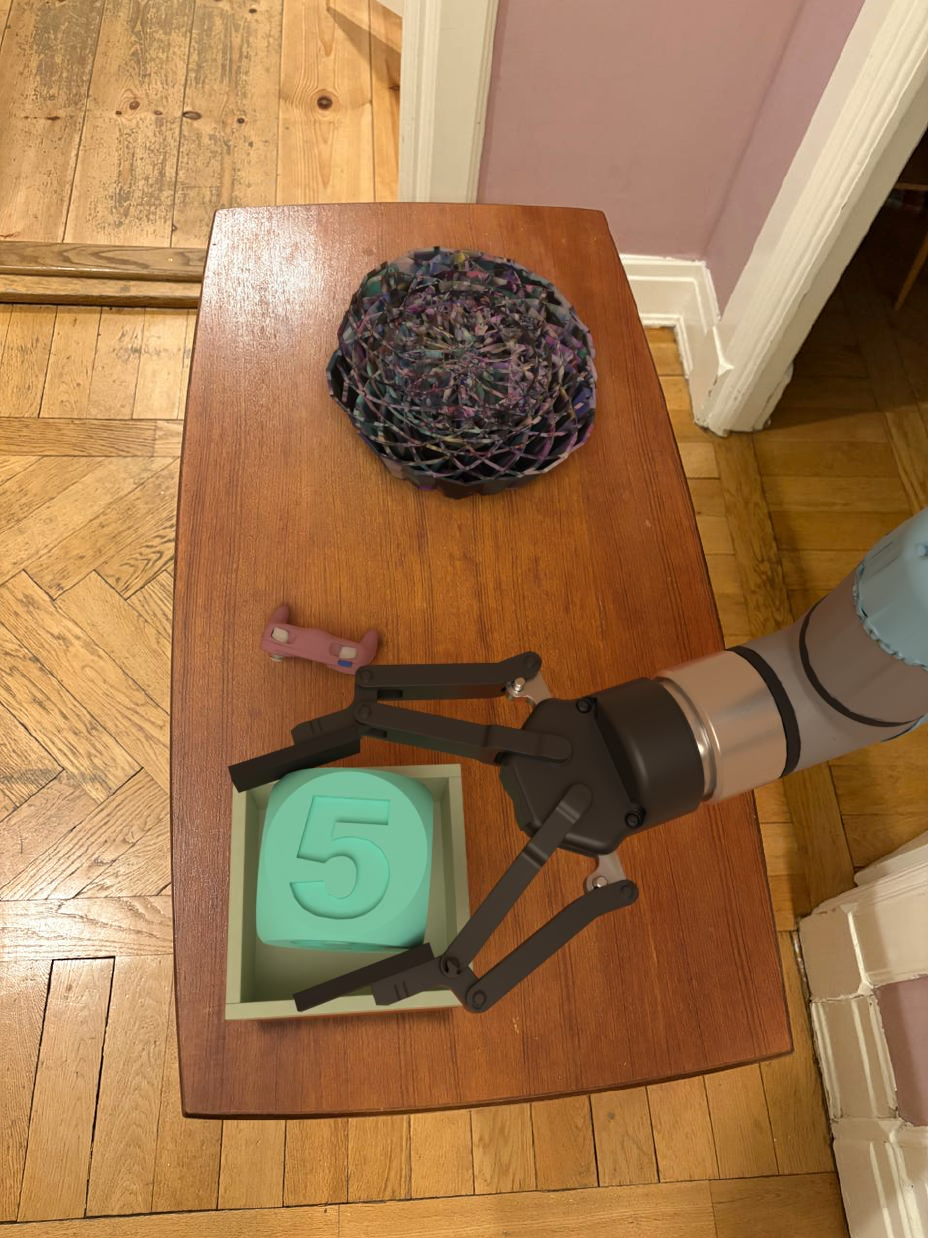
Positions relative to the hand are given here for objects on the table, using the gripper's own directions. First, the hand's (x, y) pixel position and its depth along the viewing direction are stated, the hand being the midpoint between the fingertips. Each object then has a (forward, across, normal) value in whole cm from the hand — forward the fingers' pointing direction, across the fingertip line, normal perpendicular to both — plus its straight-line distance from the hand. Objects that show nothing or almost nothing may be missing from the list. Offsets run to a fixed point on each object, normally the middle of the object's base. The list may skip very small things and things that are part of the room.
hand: (263, 887), depth 45 cm
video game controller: (-8, +23, -33) cm, 41 cm away
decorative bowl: (-29, +44, -33) cm, 62 cm away
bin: (-4, 0, -17) cm, 17 cm away
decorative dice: (-4, 0, -6) cm, 7 cm away
